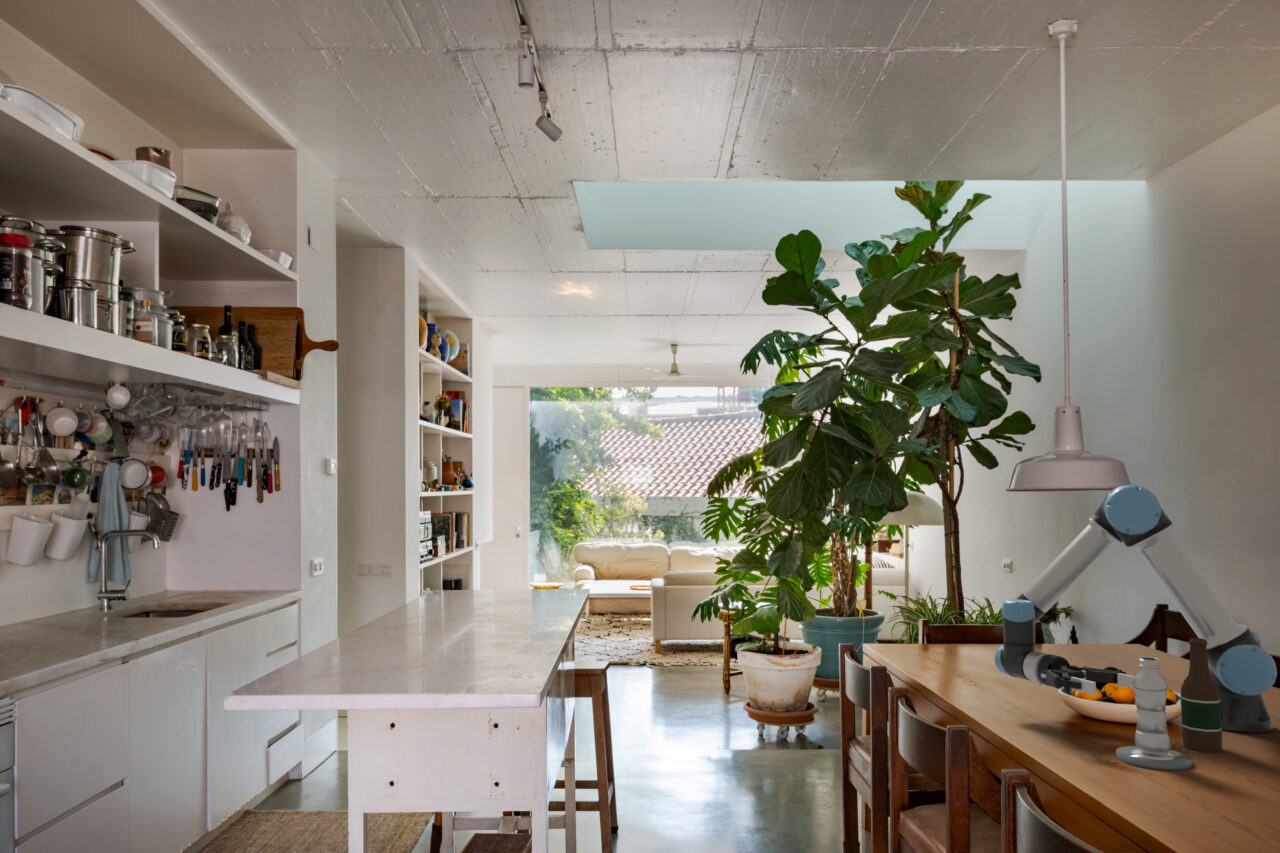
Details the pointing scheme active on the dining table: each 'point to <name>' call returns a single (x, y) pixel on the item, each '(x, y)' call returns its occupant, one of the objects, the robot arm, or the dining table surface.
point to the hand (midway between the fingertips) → (1118, 686)
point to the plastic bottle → (1151, 708)
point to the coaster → (1153, 759)
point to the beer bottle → (1200, 703)
